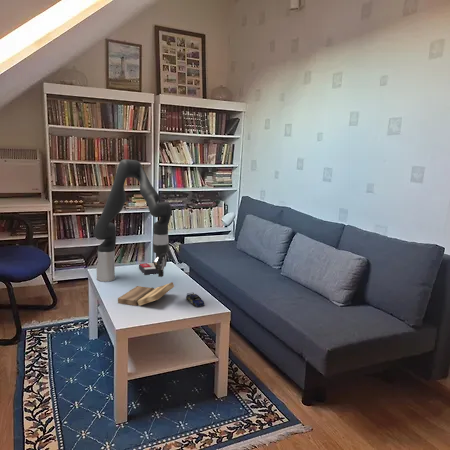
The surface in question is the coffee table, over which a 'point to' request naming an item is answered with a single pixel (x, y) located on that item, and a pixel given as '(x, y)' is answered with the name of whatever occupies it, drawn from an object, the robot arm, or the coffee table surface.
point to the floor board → (134, 295)
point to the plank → (155, 294)
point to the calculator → (148, 268)
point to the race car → (195, 300)
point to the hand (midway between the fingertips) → (160, 276)
